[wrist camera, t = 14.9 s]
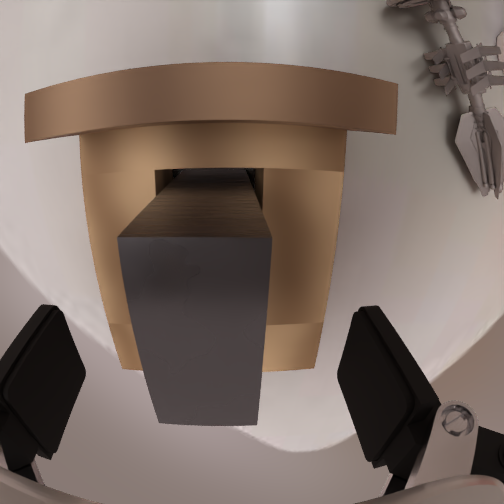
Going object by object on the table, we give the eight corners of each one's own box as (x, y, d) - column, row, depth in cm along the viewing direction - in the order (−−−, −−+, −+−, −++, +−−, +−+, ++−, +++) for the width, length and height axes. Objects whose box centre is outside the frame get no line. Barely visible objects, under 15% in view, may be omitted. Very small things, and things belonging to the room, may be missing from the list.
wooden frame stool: (320, 100, 18) (397, 83, 9) (300, 327, 25) (331, 421, 16) (112, 103, 17) (25, 93, 8) (137, 328, 24) (105, 421, 15)
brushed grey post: (245, 168, 19) (272, 237, 8) (241, 276, 23) (256, 425, 11) (184, 168, 19) (116, 237, 7) (188, 276, 22) (159, 422, 10)
